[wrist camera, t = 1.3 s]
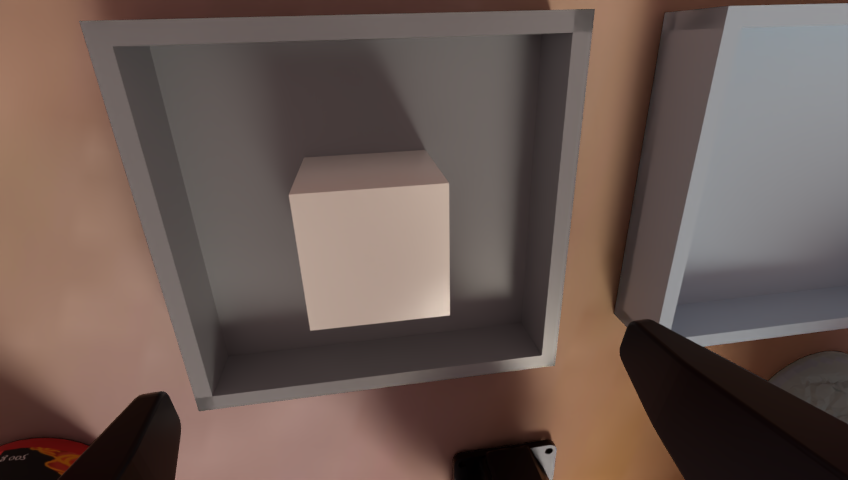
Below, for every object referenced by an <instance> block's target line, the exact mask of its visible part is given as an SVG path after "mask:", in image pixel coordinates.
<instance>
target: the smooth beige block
mask: <svg viewBox="0 0 848 480" xmlns="http://www.w3.org/2000/svg"><path fill="white" fill-rule="evenodd" d="M289 200H290V206H291V212H292V219H293V225H294V231H295V238H296V244H297V250H298V257H299V263H300V269H301V275H302V282H303V288H304V294H305V301H306V307H307V313H308V320H309V326H310V331H312V330H321V329H331V328H340V327H349V326H358V325H367V324H376V323H385V322H394V321H403V320H412V319H422V318H431V317H440V316H449V315H450V242H449V182H448V181H447V179H446V178H445V177H444V175H443V174H442V172H441V171H440V170H439V168H438V167H437V166H436V164H435V163H434V161H433V160H432V159H431V157H430V156H429V154H428V153H427V152H426V150H416V151H400V152H384V153H368V154H352V155H336V156H320V157H304V159H303V161H302V164H301V166H300V169H299V171H298V173H297V176H296V178H295V181H294V183H293V185H292V188H291V190H290V193H289Z"/></svg>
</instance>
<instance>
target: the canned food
mask: <svg viewBox="0 0 848 480" xmlns="http://www.w3.org/2000/svg"><path fill="white" fill-rule="evenodd" d="M88 447H89V446H88V445H85V444H83V443H79V442H75V441H70V440H66V439H56V438H32V439H25V440H19V441H15V442H12V443H8V444H5V445H2V446H0V480H58V479H59V477H60V476H61V475H62V474H63V473H64V472H65V471H66V470H67V469H68V468H69V467H70V466H71V465H72V464H73V463H74V462H75V461H76V460H77V459H78V458H79V457H80V456H81V454H82V453H83V452H84V451H85V450H86V449H87V448H88Z"/></svg>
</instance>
